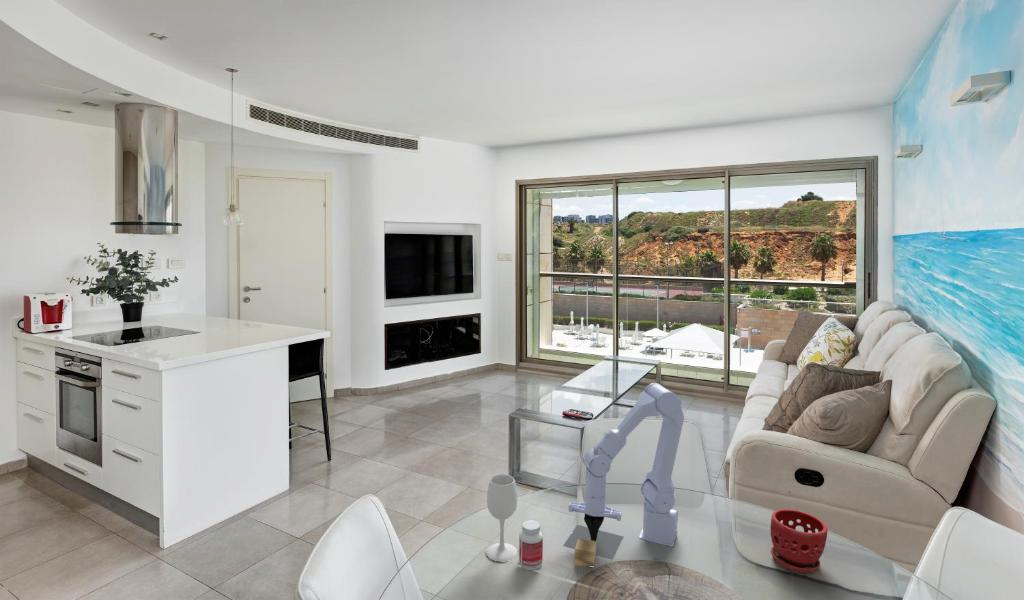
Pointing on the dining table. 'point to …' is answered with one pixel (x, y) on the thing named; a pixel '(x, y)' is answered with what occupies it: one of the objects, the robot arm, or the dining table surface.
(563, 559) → the dining table surface
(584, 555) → the oak block
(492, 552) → the wineglass
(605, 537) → the mat
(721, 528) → the dining table surface
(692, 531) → the dining table surface
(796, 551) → the plant pot
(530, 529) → the pill bottle
